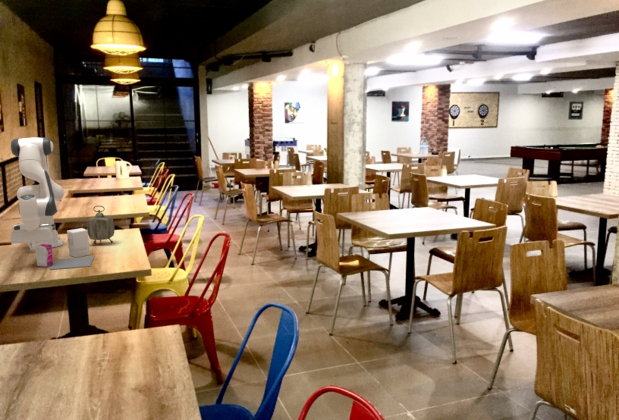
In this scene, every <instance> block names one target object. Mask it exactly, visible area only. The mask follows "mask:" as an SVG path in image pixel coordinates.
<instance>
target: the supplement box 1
mask: <svg viewBox="0 0 619 420" xmlns="http://www.w3.org/2000/svg"><path fill="white" fill-rule="evenodd" d="M35 254H36V266H37V268H47V267H49V266H50V267H51V266H52V265H53V264H54V261H53V260H54V259H53V248H52V245H49V244H41V245H38V246H36V250H35Z"/></svg>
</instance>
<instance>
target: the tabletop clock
mask: <svg viewBox="0 0 619 420" xmlns="http://www.w3.org/2000/svg"><path fill="white" fill-rule="evenodd" d="M98 207H99V208H100V207H101V208H103V210H101V209H98V210H96V209H95V208H98ZM92 209H93V211H94V212H95V215H94V216H92V217H91V218H90V217H89V218H87V222H86V230H88V239H90V240H93V244H96V243H97V241H99V246H102V245H103V243H102V241H104V240H105V241H106V240H109V241H110V243H111V244H112V243H114V240H112V239H111V238H112V237H114V235H115V221H114V217H112V216H111V215H105V214H104V213H103V212H104V211H105V210H106V209H105V207H104V206H102V205H95V206H93V208H92Z"/></svg>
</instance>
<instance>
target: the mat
mask: <svg viewBox="0 0 619 420" xmlns="http://www.w3.org/2000/svg"><path fill="white" fill-rule="evenodd" d="M94 259H95V256H94V255H93V256H81V257H76V258H75V257H68V258H56V259H55V261H53V265H51V266H50V268H49V270H50V271H53V270H54V271H55V270H56V271H57V270H65V269H66V270H67V269H69V270H70V269H78V268H79V269H80V268H91V266H92V263H93V261H94Z"/></svg>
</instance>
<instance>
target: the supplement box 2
mask: <svg viewBox="0 0 619 420" xmlns="http://www.w3.org/2000/svg"><path fill="white" fill-rule="evenodd" d="M66 235H67V244H68V245H67V246H68V255H69V256H71V257H72V258H79V257H87V256H90V255H91V252H90V251H91V250H90V249H91V248H90V241H89V239H90V238H89V236H88V230H87V229H85V228H83V227H81V228H75V229H74V228H73V229H69V230H66Z"/></svg>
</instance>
